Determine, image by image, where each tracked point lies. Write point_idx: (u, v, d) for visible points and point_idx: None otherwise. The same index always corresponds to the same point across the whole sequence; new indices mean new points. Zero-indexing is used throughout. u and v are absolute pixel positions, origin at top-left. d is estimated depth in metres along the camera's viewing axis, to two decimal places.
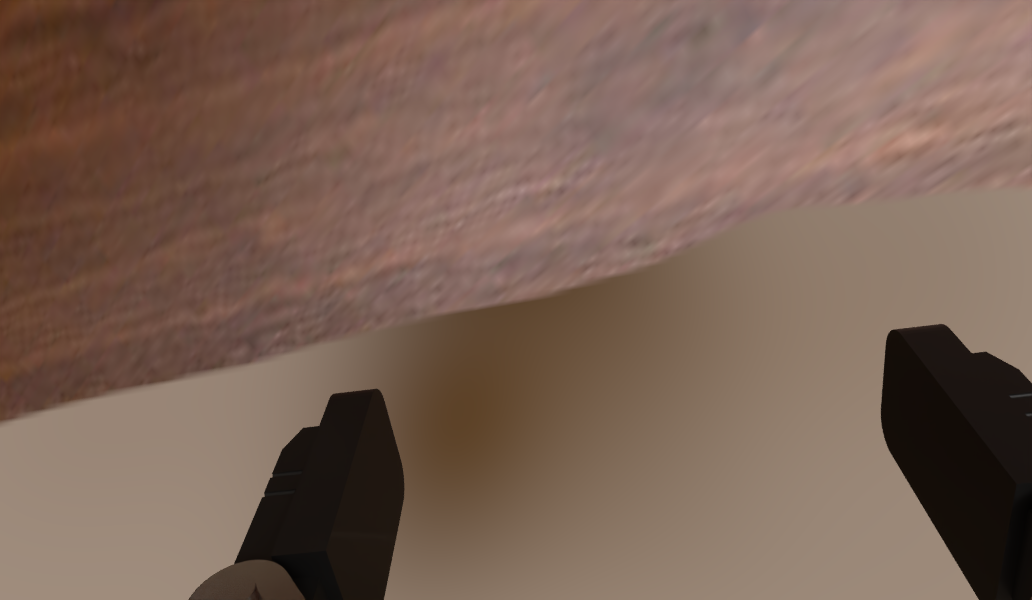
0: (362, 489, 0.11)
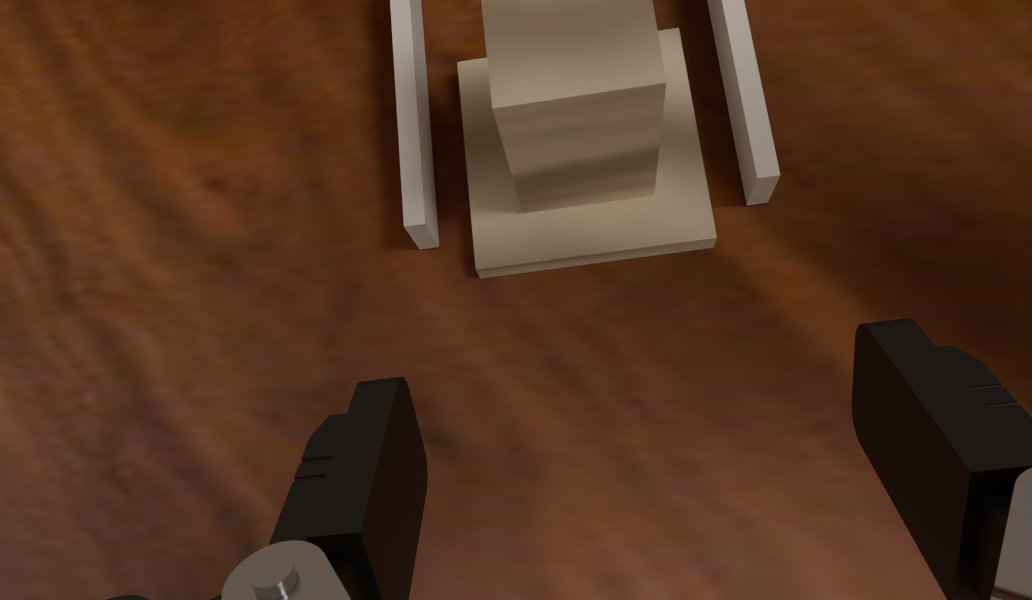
0: (390, 474, 0.12)
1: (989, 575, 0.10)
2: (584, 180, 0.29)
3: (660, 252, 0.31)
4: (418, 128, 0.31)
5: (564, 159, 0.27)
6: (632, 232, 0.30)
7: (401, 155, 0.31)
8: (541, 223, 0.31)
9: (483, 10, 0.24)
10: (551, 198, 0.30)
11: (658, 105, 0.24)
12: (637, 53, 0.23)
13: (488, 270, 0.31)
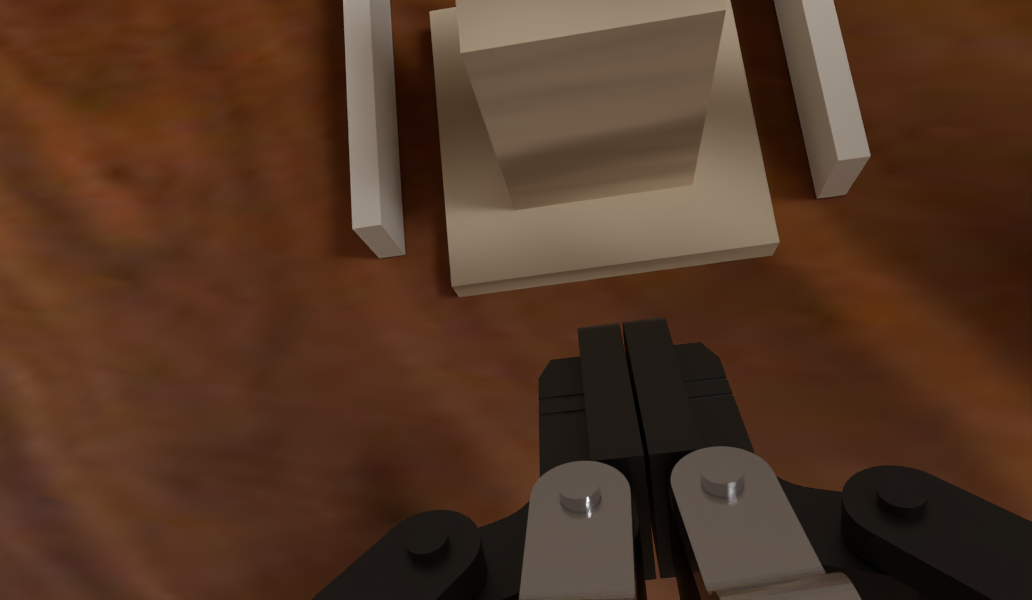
0: None
1: (673, 547, 0.11)
2: (599, 165, 0.21)
3: (701, 262, 0.23)
4: (374, 96, 0.23)
5: (570, 132, 0.19)
6: (663, 235, 0.22)
7: (351, 132, 0.23)
8: (539, 223, 0.23)
9: None
10: (553, 189, 0.22)
11: (710, 49, 0.16)
12: None
13: (469, 287, 0.23)
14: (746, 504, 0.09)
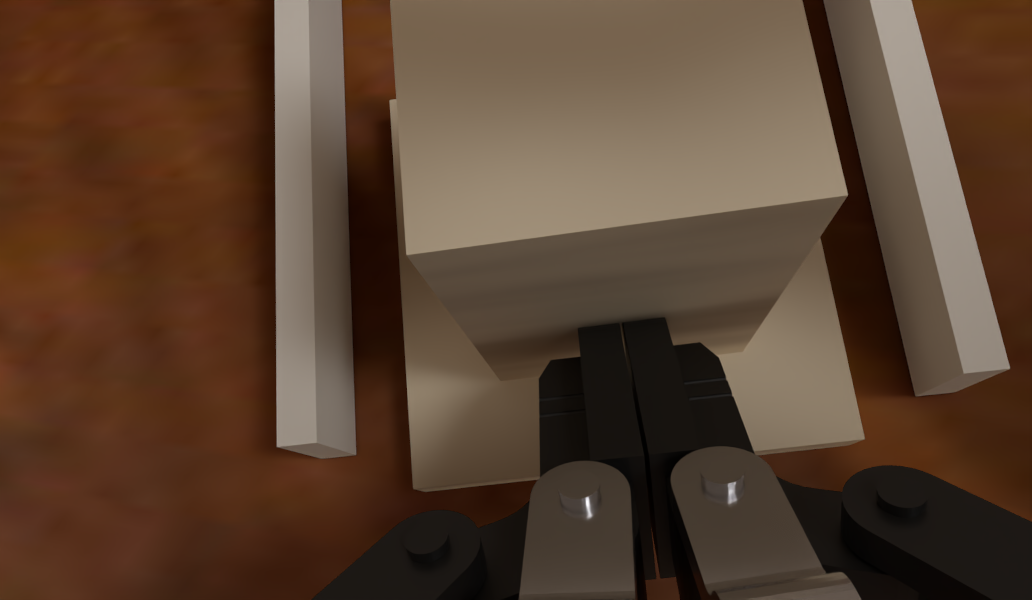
0: None
1: (673, 547, 0.11)
2: None
3: None
4: (313, 251, 0.17)
5: (580, 320, 0.13)
6: None
7: (279, 303, 0.17)
8: (533, 401, 0.17)
9: (393, 10, 0.10)
10: None
11: (807, 236, 0.10)
12: (768, 119, 0.09)
13: (437, 487, 0.17)
14: (746, 504, 0.09)
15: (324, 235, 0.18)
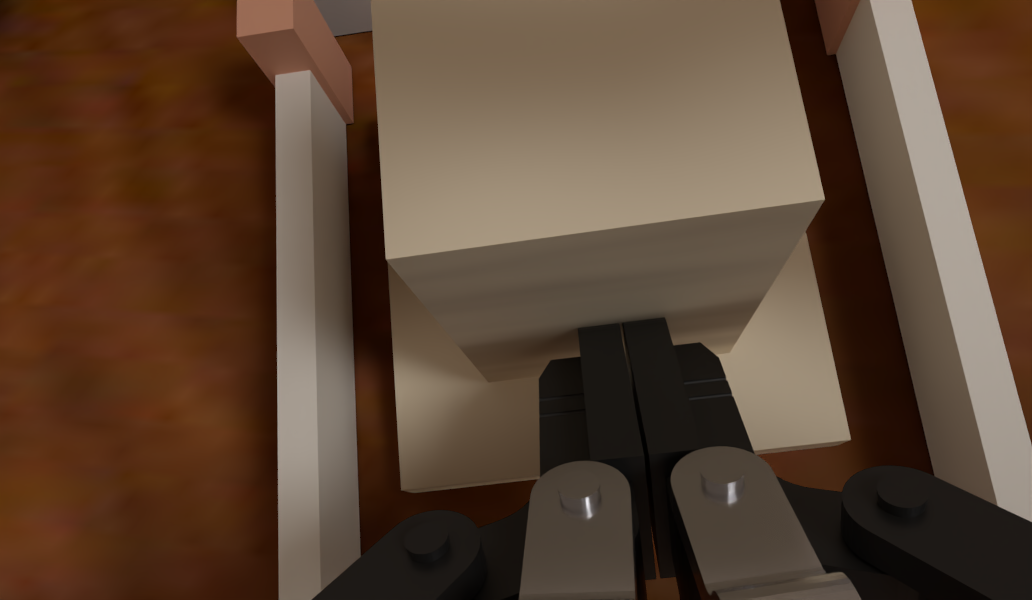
0: None
1: (673, 548, 0.11)
2: None
3: None
4: (320, 563, 0.15)
5: (564, 321, 0.13)
6: None
7: None
8: (521, 402, 0.17)
9: (374, 15, 0.10)
10: (539, 365, 0.16)
11: (787, 239, 0.10)
12: (745, 124, 0.09)
13: (425, 489, 0.17)
14: (746, 504, 0.09)
15: (332, 529, 0.16)
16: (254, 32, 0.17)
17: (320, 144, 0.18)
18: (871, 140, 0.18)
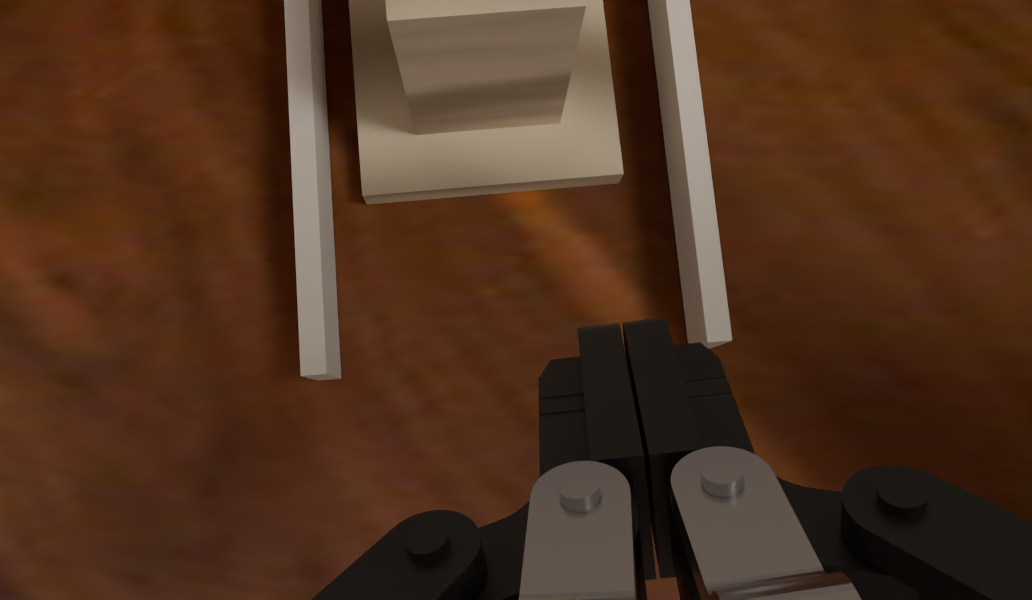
0: None
1: (673, 547, 0.11)
2: (487, 104, 0.26)
3: (563, 186, 0.29)
4: (320, 250, 0.26)
5: (466, 80, 0.24)
6: (535, 163, 0.28)
7: (299, 284, 0.26)
8: (436, 147, 0.28)
9: None
10: (448, 120, 0.27)
11: (574, 30, 0.22)
12: None
13: (376, 197, 0.28)
14: (746, 504, 0.09)
15: (324, 236, 0.27)
16: None
17: None
18: (656, 23, 0.29)
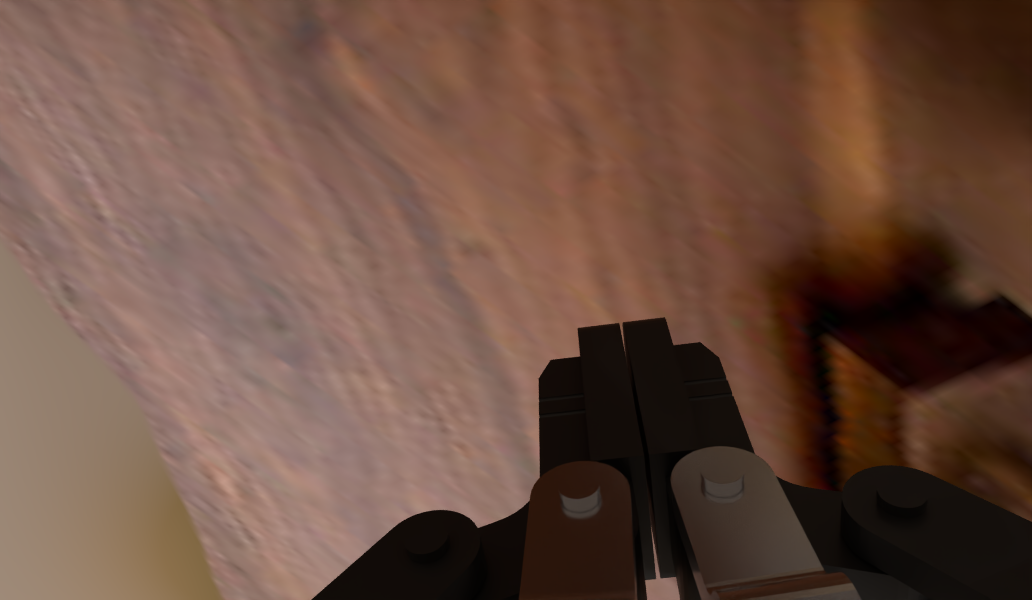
0: None
1: (673, 547, 0.11)
2: None
3: None
4: None
5: None
6: None
7: None
8: None
9: None
10: None
11: None
12: None
13: None
14: (746, 504, 0.09)
15: None
16: None
17: None
18: None
